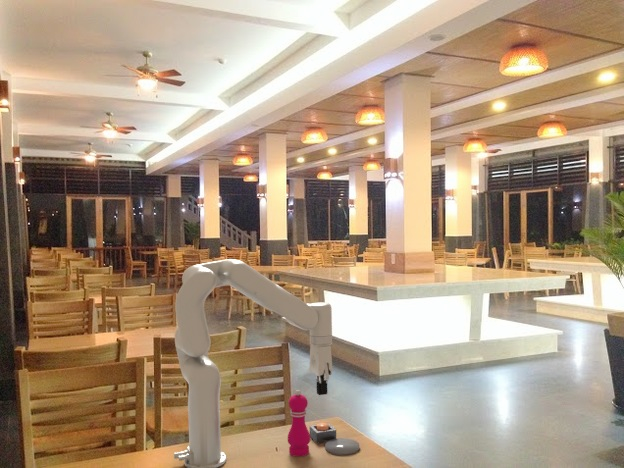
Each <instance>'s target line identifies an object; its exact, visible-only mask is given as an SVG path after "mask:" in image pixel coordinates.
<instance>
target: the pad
mask: <svg viewBox="0 0 624 468" xmlns="http://www.w3.org/2000/svg"><path fill="white" fill-rule="evenodd" d="M324 446H325V451H326V452H328V453H329V454H332V455H336V456H349V455H354V454H356V453H357V452H359V450H360V443H359V442H358V441H357V440H355V439H352V438H347V437H341V438H340V437H339V438H337V437H336V439H332V440H330V441H328V442H325V444H324Z"/></svg>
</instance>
